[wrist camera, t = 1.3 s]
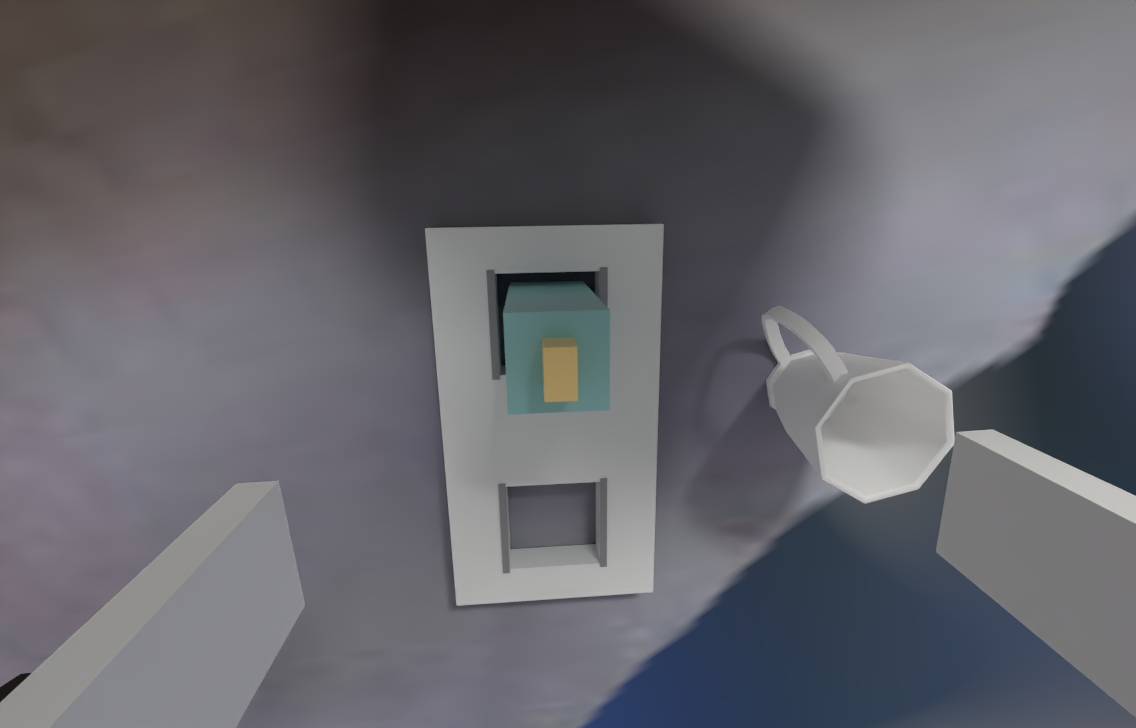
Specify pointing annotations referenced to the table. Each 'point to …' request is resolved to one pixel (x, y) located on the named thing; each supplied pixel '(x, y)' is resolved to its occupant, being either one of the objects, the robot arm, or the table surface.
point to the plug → (556, 348)
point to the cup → (857, 413)
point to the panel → (547, 440)
